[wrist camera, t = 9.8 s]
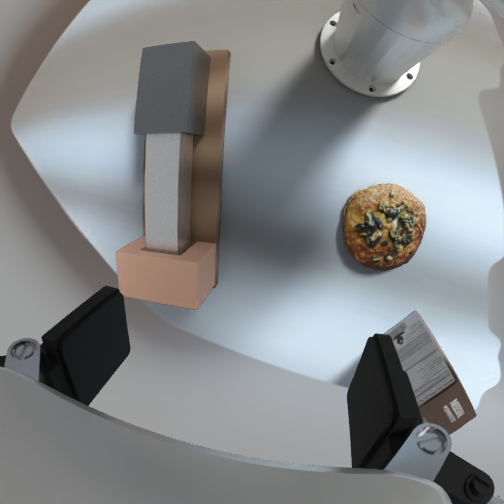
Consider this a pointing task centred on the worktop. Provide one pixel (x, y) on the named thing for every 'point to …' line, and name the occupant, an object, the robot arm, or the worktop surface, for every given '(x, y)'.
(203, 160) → the base board
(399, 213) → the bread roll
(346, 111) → the worktop surface
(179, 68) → the sleeve
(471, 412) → the coffee box
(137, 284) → the socket block
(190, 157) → the light grey bar
